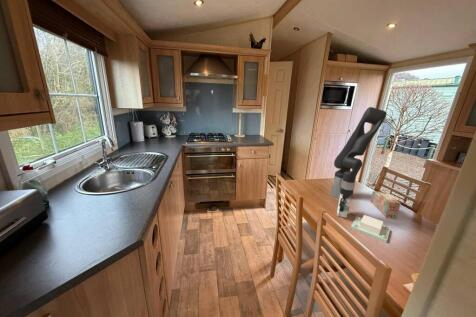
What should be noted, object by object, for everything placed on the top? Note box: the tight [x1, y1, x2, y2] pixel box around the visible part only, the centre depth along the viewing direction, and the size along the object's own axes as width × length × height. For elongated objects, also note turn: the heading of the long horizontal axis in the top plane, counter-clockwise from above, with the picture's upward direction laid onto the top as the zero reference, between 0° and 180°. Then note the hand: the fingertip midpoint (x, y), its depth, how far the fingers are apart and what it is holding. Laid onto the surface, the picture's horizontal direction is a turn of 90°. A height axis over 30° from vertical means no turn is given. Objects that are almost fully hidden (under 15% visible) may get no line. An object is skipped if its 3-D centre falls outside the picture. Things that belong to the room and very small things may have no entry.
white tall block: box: [336, 194, 352, 219], centre depth 128 cm, size 6×6×14 cm
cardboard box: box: [370, 190, 401, 220], centre depth 135 cm, size 21×6×12 cm, turn 170°
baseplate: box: [350, 214, 391, 243], centre depth 116 cm, size 18×14×6 cm
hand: (343, 208), depth 129 cm, fingers open, 8 cm apart
